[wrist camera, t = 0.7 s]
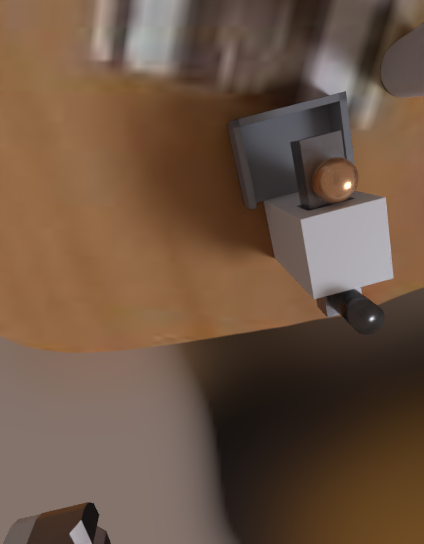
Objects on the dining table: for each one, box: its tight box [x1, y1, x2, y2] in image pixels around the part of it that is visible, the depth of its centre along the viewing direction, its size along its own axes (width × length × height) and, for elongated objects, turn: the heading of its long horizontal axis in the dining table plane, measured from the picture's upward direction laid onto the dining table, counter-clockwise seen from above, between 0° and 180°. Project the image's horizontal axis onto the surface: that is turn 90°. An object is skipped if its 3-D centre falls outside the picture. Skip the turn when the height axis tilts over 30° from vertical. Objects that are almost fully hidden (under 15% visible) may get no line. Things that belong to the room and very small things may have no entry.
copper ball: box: [312, 157, 359, 203], centre depth 34 cm, size 4×4×4 cm
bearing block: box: [264, 191, 393, 299], centre depth 42 cm, size 8×8×15 cm
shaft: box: [290, 130, 385, 335], centre depth 37 cm, size 18×4×8 cm, turn 14°
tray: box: [227, 91, 355, 209], centre depth 45 cm, size 10×13×4 cm
